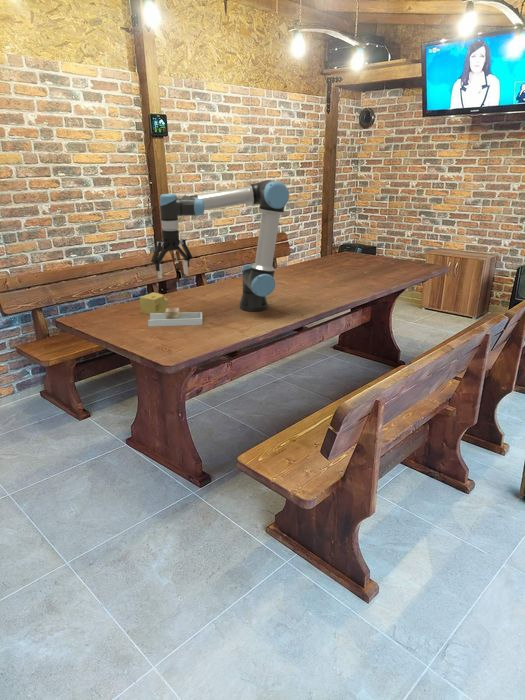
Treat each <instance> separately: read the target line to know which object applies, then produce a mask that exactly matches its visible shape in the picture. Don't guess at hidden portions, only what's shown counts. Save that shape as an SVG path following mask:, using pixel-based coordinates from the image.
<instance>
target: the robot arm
mask: <svg viewBox="0 0 525 700" xmlns="http://www.w3.org/2000/svg"><path fill="white" fill-rule="evenodd" d="M289 199H290V192H289V188H288V187H287V186H286V185H285V184H284V183H283V182H281V181H279V180H270V179H267V180H262V181H260V182H256V183H251V184H250V183H249V184H248V185H247V186H246V187H245V186H244V187H240V188H239V187H238V188H233V189H227V190H219V191H213V192H206V193H199V194H194V195H193V194H192V195H183V196H181V197H180V198H178V196H177V193H163V194H161V195H160V196H159V208H160V210H159V211H160V219H161V220H160V222H161V229H162V231H161V235H162V241H158V240H157V241H156V243H155V249H154V252H153V255H152V257H151V261H150V262H151V263H152V264H154V265H155V271H156V272H157V278H158V279H163V270H162V263H161V262H162V260H163V259H164V257H165V255H166V254H167V253H168V252H171V251H177V252H178V254H180V256H181V257H182V258H183V259H182V261H183V262H182V265H183V267H182V268H183V274H184V275H189V267H190V260H192V259H193V255H192V253H191V252H190V249H189V247H188V245H187V243H186V239H184V238H181V239H180V231H179V228H180V227H179V217H184V216H185V217H187V216H188V217H189V216H190V217H191V216H195V217H198V216H203V215H205V214H204V213H205V211H207V210H216V209H220V208H226V207H228V208H229V207H232V206H234V207H235V206H239V205H245V204H249V205H251V206H253V205H259V210H260V213H261V217H260V218H261V219H260V226H259V230H258V232H259V233H258V240H257V246H256V253H255V260H254V263H252V264H244V265H243V266H242V269H241V270H242V271H241V272H242V273H241V274H242V277H241V278H242V293H241V298H240V301H239V306H238V307H239V309H240V310H242V311H247V312H260V311H261V312H262V311H265V310H267V309H268V307H269V302H268V300H267V297H268V296H270V295H271V294H272V293H274V291H275V288H276V279H275V278H274V277H275V271H276V270H275V267H274V266H273V265H274V264H273V263H274V256H275V250H276V245H277V236H278V232H279V230H278V229H279V223H280V217H281V216H282V215H283V214H284V212H285V206H286V205H287V204H288V202H289ZM180 245H181V246H182V248H183V250H184V251H183V250H182V248H181V247H180Z"/></svg>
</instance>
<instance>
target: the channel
mask: <svg viewBox="0 0 525 700" xmlns="http://www.w3.org/2000/svg"><path fill="white" fill-rule="evenodd" d="M179 315H180V319H166V313H150V314H149V319H147V325H148V328H149V327H178V326H179V327H181V326H203V324H204V323H203V311H195V312H191V311H189V312H187V311H186V312H179Z"/></svg>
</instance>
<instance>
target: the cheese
mask: <svg viewBox="0 0 525 700" xmlns="http://www.w3.org/2000/svg"><path fill="white" fill-rule="evenodd" d="M166 308H170V307H169V299H168V298H166V297H165V295H164V294H162V293H158V292H150V293H147V294H146V295H143V296H142V295H141V296H139V309H140V313H141V314H145V315H150V313H165V312H166Z"/></svg>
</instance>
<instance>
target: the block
mask: <svg viewBox="0 0 525 700" xmlns="http://www.w3.org/2000/svg"><path fill="white" fill-rule="evenodd" d="M165 313H166V319H180V315H179V313H180V307H172V308H171V307H169V308H166V312H165Z"/></svg>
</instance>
